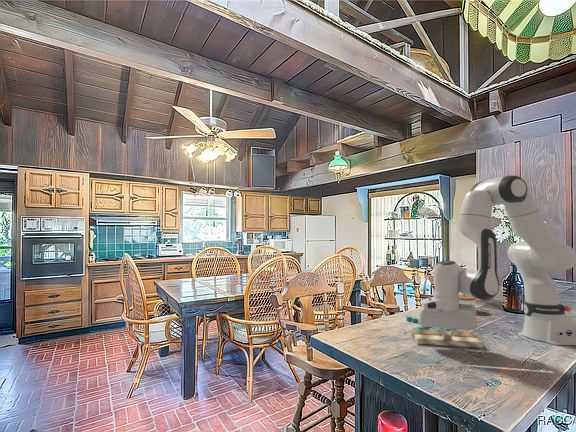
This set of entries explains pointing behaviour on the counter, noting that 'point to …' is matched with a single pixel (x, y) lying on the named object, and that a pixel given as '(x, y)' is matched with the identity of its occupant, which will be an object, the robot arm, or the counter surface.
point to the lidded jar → (467, 299)
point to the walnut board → (438, 333)
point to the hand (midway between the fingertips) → (447, 339)
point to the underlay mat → (444, 345)
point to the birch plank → (448, 341)
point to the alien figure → (421, 326)
